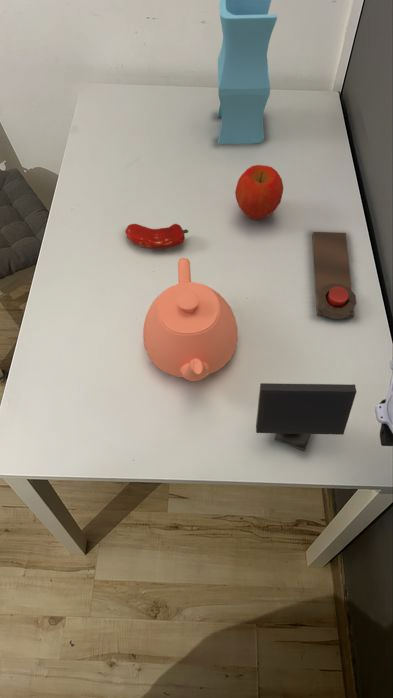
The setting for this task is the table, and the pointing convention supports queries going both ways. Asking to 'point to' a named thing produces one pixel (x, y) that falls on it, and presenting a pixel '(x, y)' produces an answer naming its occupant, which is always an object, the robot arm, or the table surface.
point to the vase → (244, 69)
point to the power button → (337, 296)
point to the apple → (259, 191)
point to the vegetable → (156, 236)
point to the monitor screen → (304, 408)
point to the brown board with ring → (332, 273)
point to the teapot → (189, 329)
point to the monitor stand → (293, 440)
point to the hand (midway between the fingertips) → (388, 440)
